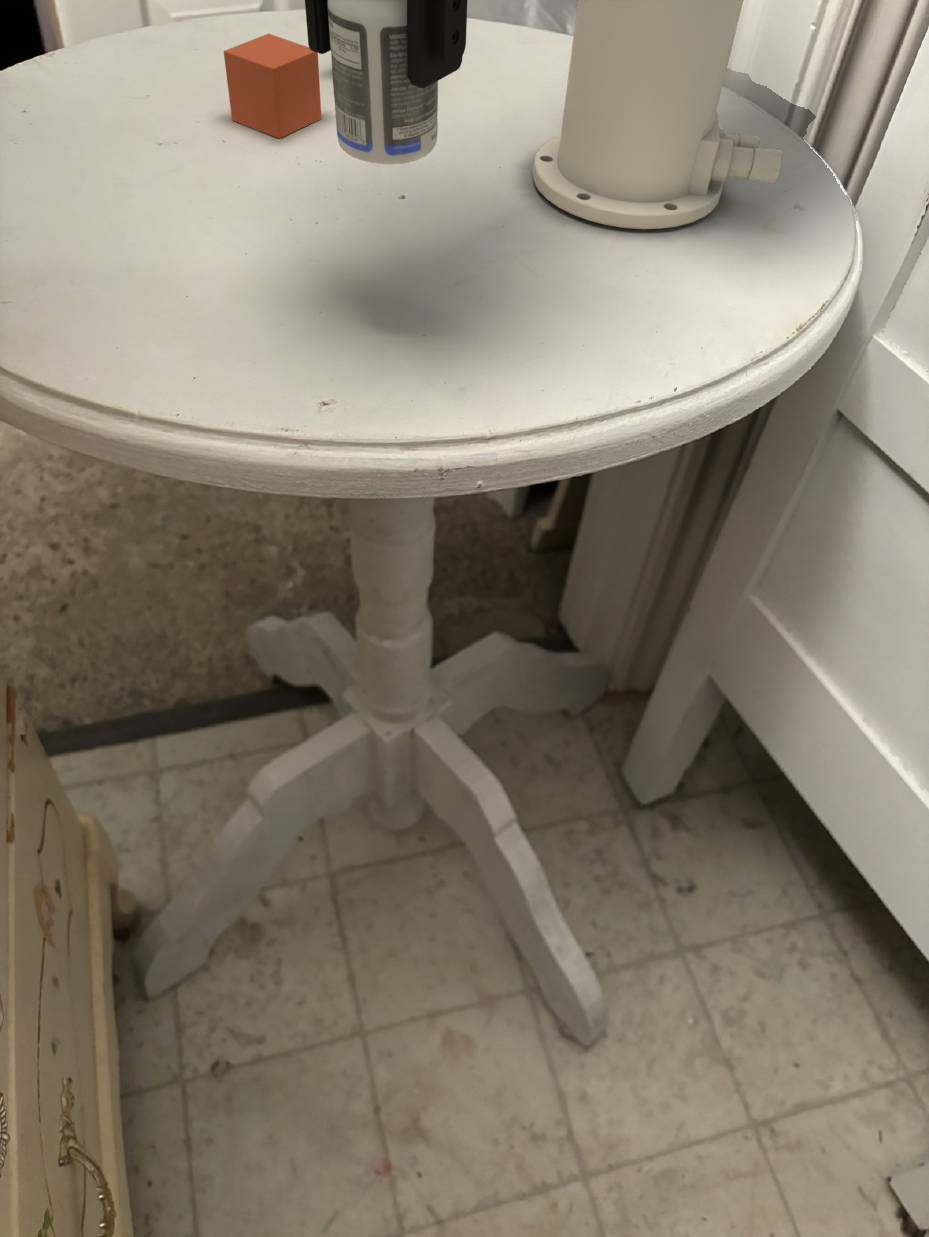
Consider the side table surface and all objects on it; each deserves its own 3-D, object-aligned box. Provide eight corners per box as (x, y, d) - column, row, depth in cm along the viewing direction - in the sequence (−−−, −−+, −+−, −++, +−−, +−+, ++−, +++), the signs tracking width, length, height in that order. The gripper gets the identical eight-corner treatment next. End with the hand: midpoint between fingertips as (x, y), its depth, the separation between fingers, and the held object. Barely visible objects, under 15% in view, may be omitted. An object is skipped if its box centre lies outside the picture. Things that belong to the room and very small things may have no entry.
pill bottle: (440, 124, 47) (444, -82, 40) (433, 170, 44) (435, -44, 37) (343, 118, 47) (331, -89, 40) (329, 164, 44) (314, -52, 37)
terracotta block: (274, 101, 70) (268, 33, 67) (322, 119, 69) (318, 50, 65) (231, 120, 68) (222, 50, 64) (279, 139, 66) (273, 68, 63)
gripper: (682, -590, 27) (593, 85, 42) (243, -607, 33) (295, -8, 47) (545, -606, 23) (498, 147, 38) (72, -622, 29) (185, 37, 43)
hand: (385, 55), depth 42 cm, fingers closed on pill bottle, 4 cm apart
